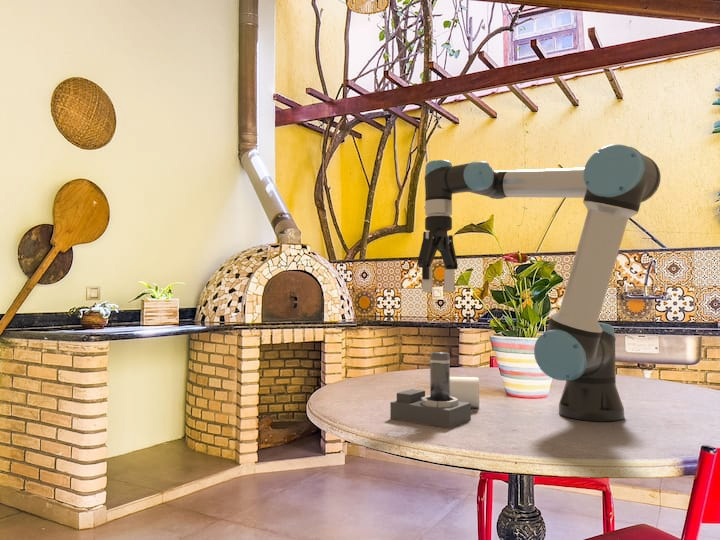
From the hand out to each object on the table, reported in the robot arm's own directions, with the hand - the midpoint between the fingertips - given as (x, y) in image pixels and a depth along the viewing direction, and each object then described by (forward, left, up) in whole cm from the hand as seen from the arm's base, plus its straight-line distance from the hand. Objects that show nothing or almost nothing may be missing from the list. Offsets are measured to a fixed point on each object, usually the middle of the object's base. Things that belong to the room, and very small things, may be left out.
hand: (438, 292), depth 157 cm
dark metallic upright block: (-11, +19, -27) cm, 34 cm away
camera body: (-8, +19, -31) cm, 37 cm away
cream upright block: (-6, -1, -31) cm, 32 cm away
